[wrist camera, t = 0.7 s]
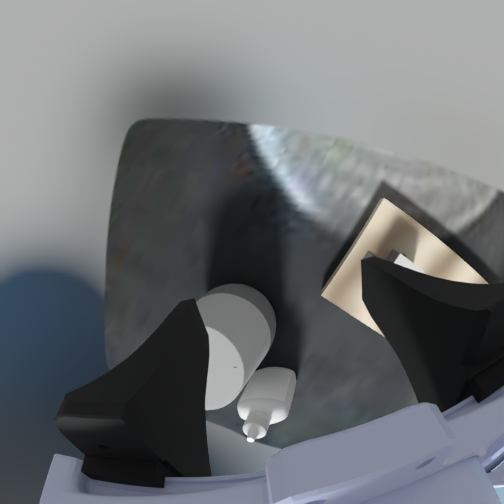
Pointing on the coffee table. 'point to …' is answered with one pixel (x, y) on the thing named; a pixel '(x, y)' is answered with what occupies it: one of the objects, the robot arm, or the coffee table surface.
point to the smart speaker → (234, 338)
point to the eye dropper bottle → (266, 400)
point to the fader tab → (402, 261)
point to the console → (380, 245)
